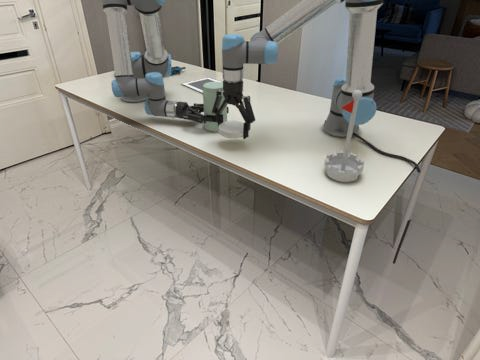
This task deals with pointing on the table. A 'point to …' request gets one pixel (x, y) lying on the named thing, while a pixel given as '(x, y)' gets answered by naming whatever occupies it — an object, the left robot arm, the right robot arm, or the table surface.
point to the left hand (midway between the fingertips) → (224, 114)
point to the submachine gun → (176, 69)
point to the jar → (212, 103)
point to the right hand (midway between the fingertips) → (233, 133)
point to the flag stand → (346, 151)
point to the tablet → (199, 84)
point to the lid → (231, 129)
